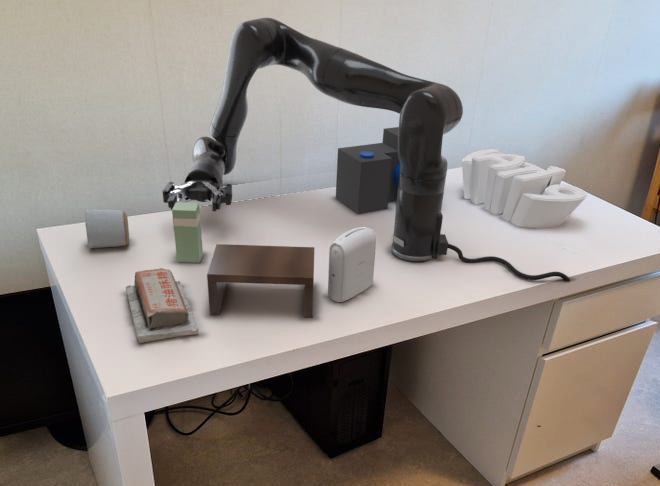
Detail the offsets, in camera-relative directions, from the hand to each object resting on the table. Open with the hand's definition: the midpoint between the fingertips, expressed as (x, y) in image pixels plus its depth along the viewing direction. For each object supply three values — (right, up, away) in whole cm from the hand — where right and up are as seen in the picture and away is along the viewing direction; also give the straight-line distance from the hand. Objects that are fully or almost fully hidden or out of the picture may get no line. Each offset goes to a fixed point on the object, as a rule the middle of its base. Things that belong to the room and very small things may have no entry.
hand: (193, 206), depth 135 cm
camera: (+44, +7, +28) cm, 53 cm away
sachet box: (0, -11, -1) cm, 11 cm away
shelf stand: (+16, -20, -14) cm, 29 cm away
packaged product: (-1, -23, -19) cm, 30 cm away
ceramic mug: (-18, -7, +3) cm, 20 cm away
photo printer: (+32, -19, -10) cm, 38 cm away
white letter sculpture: (+73, +7, +30) cm, 79 cm away
